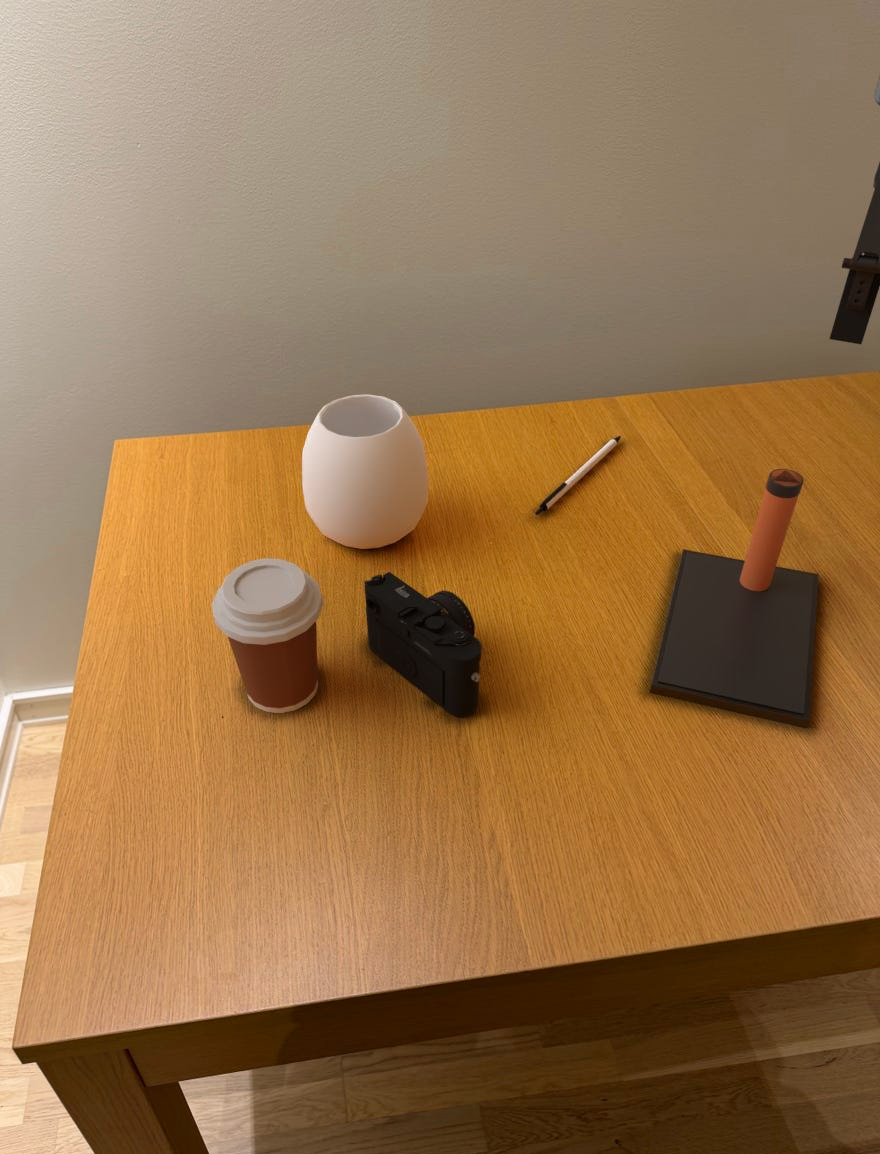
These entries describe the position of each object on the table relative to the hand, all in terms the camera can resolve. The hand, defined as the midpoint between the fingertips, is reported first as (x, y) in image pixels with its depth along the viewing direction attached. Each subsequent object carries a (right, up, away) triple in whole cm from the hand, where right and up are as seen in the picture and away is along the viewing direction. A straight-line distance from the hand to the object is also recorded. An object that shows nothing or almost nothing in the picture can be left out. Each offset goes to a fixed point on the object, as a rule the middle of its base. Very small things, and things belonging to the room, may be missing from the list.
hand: (858, 310), depth 87 cm
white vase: (-47, -19, +13) cm, 52 cm away
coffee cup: (-54, -36, -4) cm, 65 cm away
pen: (-23, -13, +18) cm, 32 cm away
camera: (-40, -34, -3) cm, 53 cm away
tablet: (-12, -31, -2) cm, 33 cm away
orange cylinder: (-9, -26, +2) cm, 27 cm away
